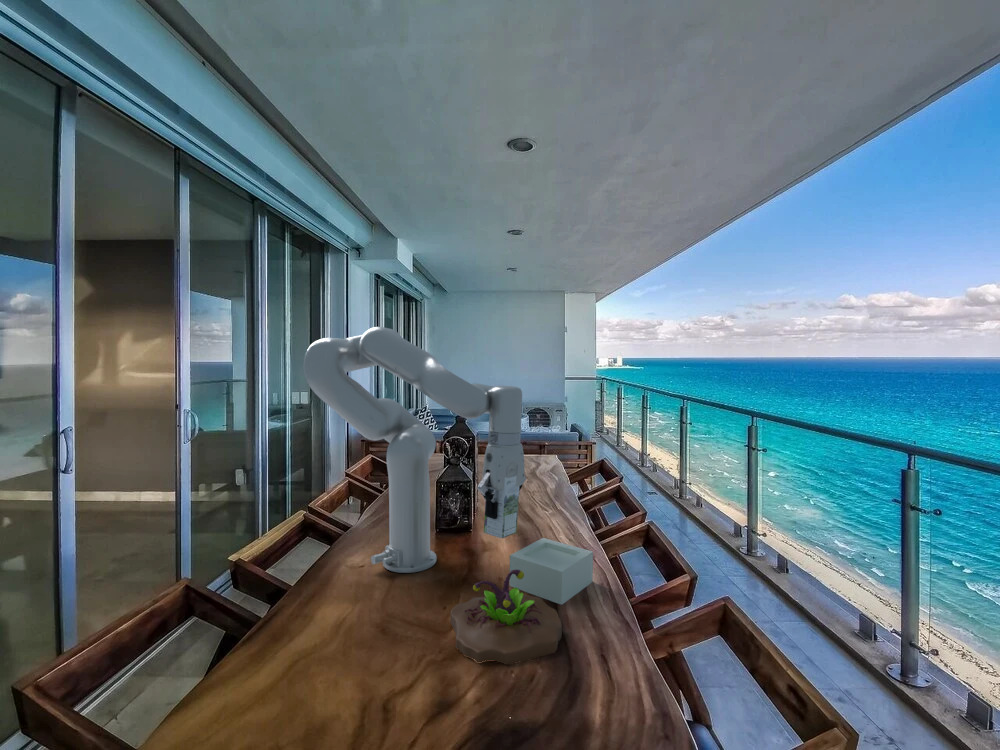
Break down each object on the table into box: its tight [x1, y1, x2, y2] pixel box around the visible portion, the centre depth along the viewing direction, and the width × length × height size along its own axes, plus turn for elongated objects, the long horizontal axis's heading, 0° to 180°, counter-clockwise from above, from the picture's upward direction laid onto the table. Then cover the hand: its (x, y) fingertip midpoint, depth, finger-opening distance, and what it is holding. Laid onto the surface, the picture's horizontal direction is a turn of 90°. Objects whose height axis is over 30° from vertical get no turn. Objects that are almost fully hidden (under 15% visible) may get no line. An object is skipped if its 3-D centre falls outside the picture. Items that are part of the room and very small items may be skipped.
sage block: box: [509, 537, 594, 605], centre depth 109 cm, size 13×13×7 cm
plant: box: [450, 569, 563, 665], centre depth 90 cm, size 20×20×11 cm
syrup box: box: [483, 476, 520, 539], centre depth 118 cm, size 6×6×14 cm
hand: (501, 513), depth 118 cm, fingers closed on syrup box, 6 cm apart
